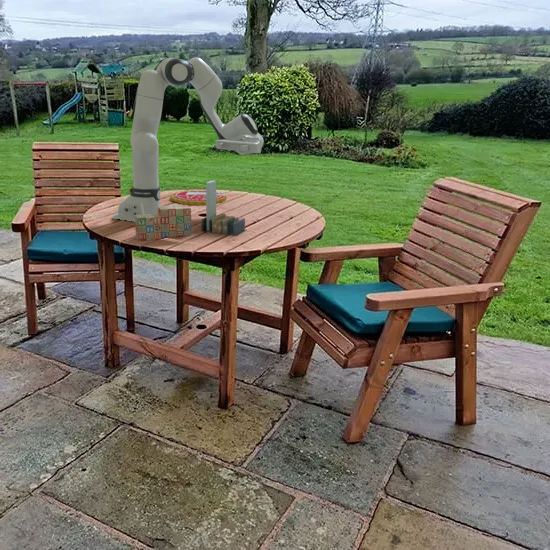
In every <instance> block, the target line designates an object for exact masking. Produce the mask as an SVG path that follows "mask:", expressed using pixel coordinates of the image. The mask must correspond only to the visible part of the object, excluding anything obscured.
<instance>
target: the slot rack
mask: <svg viewBox="0 0 550 550" xmlns="http://www.w3.org/2000/svg"><path fill="white" fill-rule="evenodd" d="M200 221H201V223H200V224H201V225H200V227H201V228H200V232H204V233H209V234H210V233H211V234H218V235H223V236H224V235H225V236H231V237H238V236H240V235H241V234H243V233H245V232H247V231H248V229H246V227H245V226H246V218H241V219H240V220H239V217H238V216H237V217H235V219H233V220H231V221H229V222H227V234H225V233H221V234H220V233H215V232H212V219H211V220H209V230H207V217H202V218H201V219H200Z"/></svg>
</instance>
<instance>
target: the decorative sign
mask: <svg viewBox="0 0 550 550" xmlns="http://www.w3.org/2000/svg"><path fill="white" fill-rule="evenodd" d="M170 199H171V200H170ZM226 199H227V194H225V193H221V191H216V205H218V204H223V203H224V202H223V201H225V202H226V201H227V200H228V199H227V200H226ZM169 200H170V201H171V202H173V201H175V202H178V203H177V204H179V203H181V204H180V205H185V204H191V205H190V206H206V189H204V190H199V189H196V190H193V189H192V190H184V191H181V190H180V191H178V192H174V193H172V194H170V196H169ZM175 202H174V203H175ZM222 202H223V203H222Z"/></svg>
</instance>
